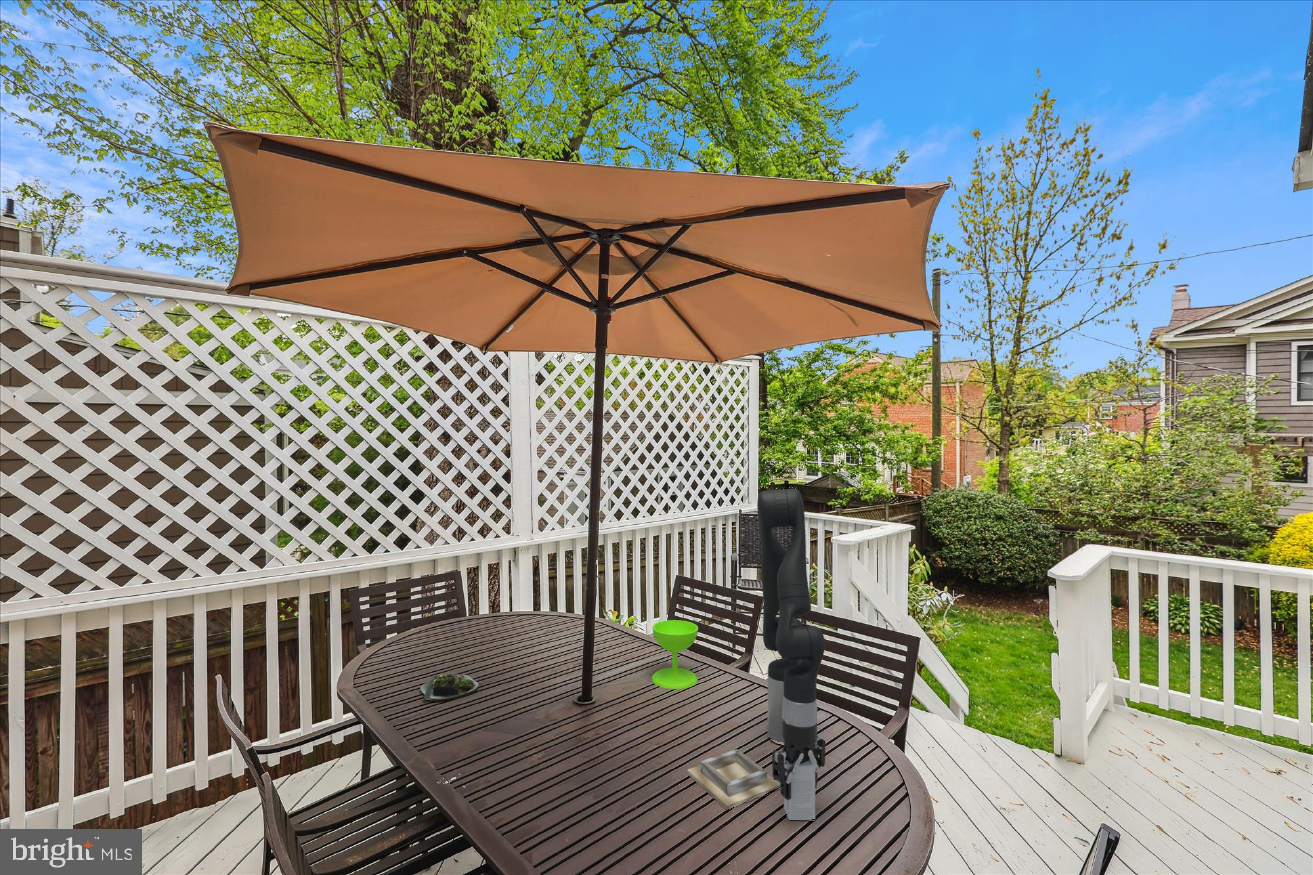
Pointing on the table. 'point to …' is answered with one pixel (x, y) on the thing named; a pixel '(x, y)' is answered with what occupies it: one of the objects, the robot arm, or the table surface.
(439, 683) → the salad plate
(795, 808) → the skincare box
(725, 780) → the socket board
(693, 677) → the wineglass
